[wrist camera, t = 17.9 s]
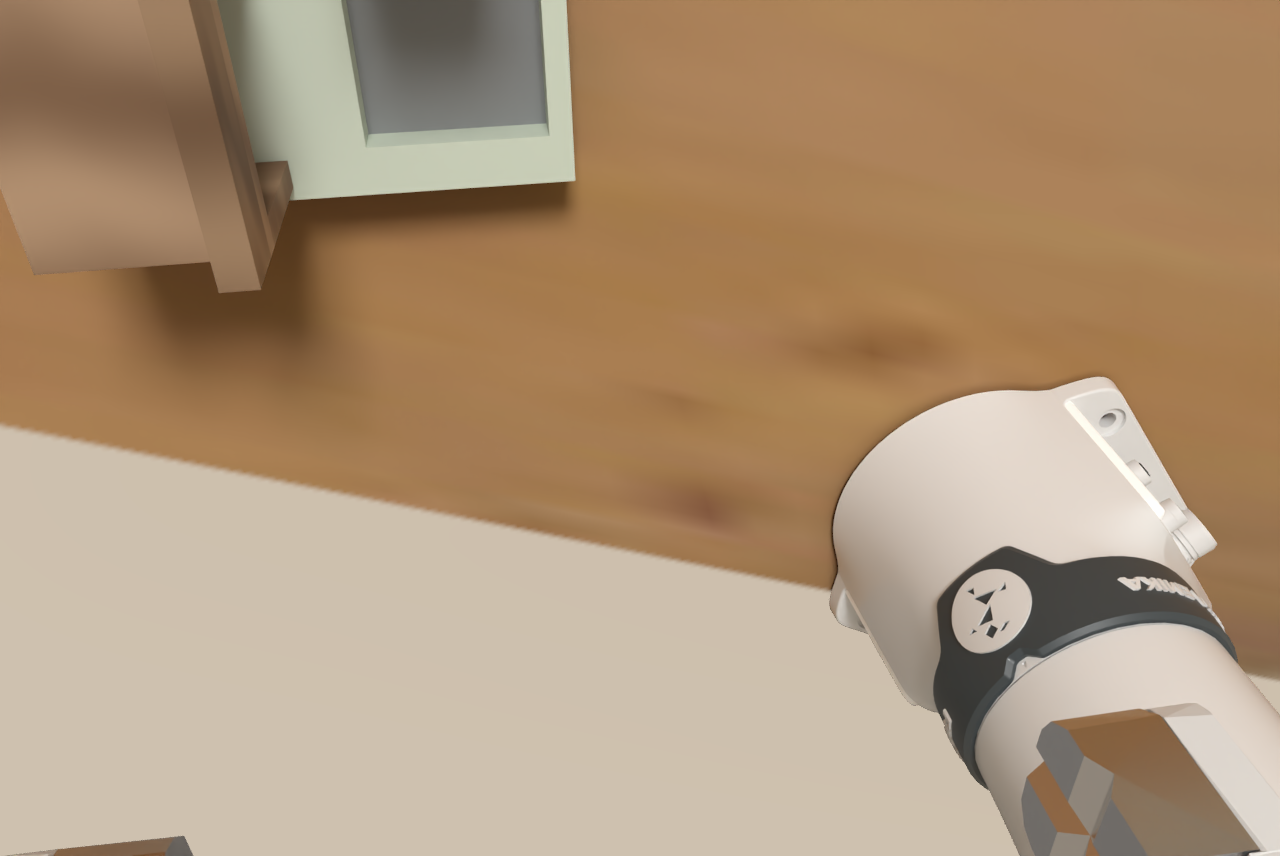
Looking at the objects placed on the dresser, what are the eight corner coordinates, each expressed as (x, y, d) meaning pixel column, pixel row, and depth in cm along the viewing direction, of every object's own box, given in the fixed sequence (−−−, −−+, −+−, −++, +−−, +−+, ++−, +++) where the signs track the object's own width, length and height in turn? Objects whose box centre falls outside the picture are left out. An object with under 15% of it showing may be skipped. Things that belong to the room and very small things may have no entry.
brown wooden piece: (293, 187, 37) (260, 289, 30) (87, 201, 36) (9, 309, 30) (232, -92, 32) (178, -40, 25) (-10, -83, 31) (-130, -27, 24)
